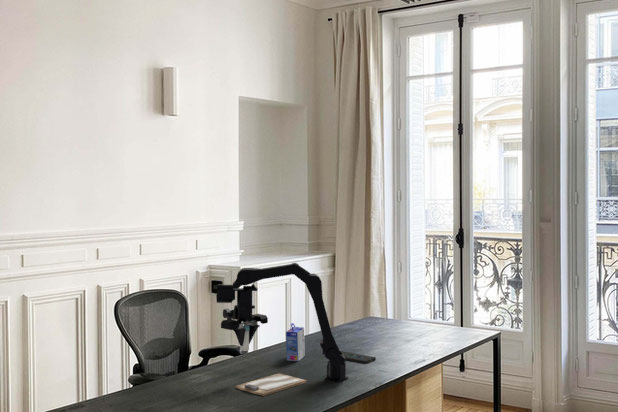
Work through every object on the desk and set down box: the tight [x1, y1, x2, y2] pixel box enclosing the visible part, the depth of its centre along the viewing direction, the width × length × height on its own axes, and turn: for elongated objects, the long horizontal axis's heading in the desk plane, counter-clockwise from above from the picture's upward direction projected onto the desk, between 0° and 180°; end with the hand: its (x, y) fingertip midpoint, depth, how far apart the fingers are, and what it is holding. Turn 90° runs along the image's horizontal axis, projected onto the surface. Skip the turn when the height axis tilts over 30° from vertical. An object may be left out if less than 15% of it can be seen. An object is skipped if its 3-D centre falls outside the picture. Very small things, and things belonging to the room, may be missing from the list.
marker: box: [239, 325, 250, 355], centre depth 254 cm, size 3×3×10 cm
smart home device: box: [339, 350, 377, 365], centre depth 288 cm, size 8×2×20 cm
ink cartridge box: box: [285, 322, 306, 362], centre depth 287 cm, size 10×6×14 cm, turn 164°
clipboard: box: [235, 373, 307, 397], centre depth 248 cm, size 14×22×2 cm, turn 138°
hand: (244, 345), depth 254 cm, fingers closed on marker, 3 cm apart
